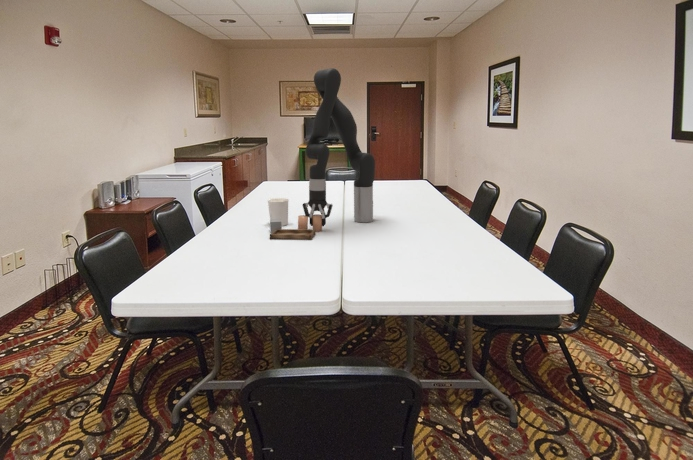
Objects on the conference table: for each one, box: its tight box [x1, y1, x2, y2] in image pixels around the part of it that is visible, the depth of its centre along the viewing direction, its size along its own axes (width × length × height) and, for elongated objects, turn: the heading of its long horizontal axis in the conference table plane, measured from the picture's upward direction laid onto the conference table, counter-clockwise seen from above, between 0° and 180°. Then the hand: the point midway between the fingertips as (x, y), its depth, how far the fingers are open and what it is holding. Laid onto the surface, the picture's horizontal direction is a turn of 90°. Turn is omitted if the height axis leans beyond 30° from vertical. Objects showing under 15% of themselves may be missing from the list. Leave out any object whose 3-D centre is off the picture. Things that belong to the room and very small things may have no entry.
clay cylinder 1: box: [297, 214, 309, 230], centre depth 215 cm, size 4×4×7 cm
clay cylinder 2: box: [312, 213, 323, 232], centre depth 216 cm, size 4×4×7 cm
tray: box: [269, 228, 317, 241], centre depth 206 cm, size 18×10×2 cm, turn 83°
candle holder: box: [267, 197, 289, 227], centre depth 228 cm, size 10×10×12 cm
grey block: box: [269, 219, 283, 234], centre depth 216 cm, size 5×5×5 cm
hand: (317, 225), depth 216 cm, fingers open, 4 cm apart
